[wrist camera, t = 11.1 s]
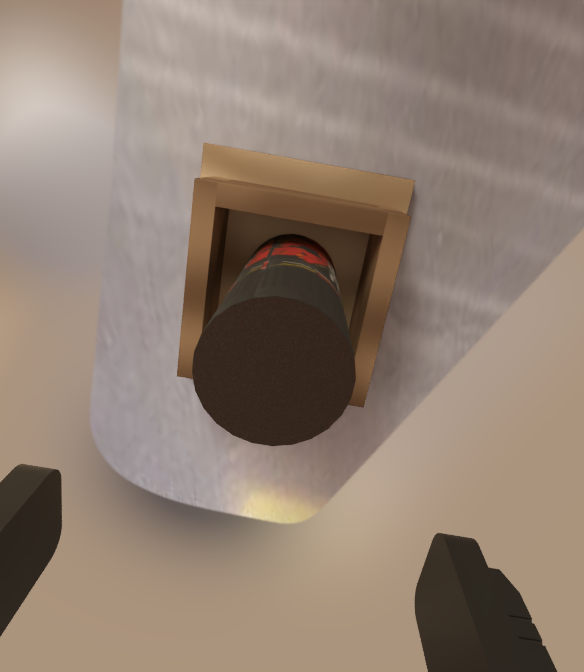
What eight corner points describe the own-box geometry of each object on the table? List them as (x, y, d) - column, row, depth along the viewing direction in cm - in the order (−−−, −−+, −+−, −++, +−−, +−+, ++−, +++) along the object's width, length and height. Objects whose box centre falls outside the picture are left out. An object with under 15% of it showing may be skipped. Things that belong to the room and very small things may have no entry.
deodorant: (354, 281, 31) (390, 380, 17) (288, 338, 33) (271, 472, 18) (292, 213, 30) (275, 259, 16) (227, 276, 31) (158, 370, 17)
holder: (207, 143, 29) (182, 138, 24) (411, 179, 30) (435, 183, 24) (186, 361, 35) (161, 400, 29) (360, 390, 35) (369, 434, 29)
